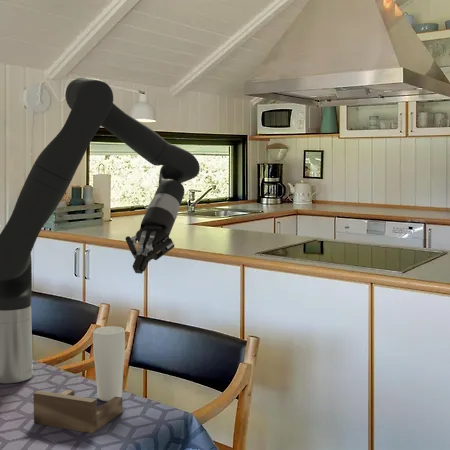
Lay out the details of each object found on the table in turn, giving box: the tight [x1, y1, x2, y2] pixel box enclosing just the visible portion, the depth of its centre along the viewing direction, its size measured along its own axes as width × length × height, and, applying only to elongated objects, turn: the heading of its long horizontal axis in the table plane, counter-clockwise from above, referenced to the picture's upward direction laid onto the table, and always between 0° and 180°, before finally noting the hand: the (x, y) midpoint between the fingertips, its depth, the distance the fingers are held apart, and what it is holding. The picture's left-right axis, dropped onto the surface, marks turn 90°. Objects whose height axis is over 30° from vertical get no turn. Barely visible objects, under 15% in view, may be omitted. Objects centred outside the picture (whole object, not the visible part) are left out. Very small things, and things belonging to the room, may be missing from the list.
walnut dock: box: [32, 389, 123, 434], centre depth 121 cm, size 11×13×6 cm
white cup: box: [92, 325, 126, 402], centre depth 132 cm, size 7×7×15 cm
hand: (137, 271), depth 142 cm, fingers closed
